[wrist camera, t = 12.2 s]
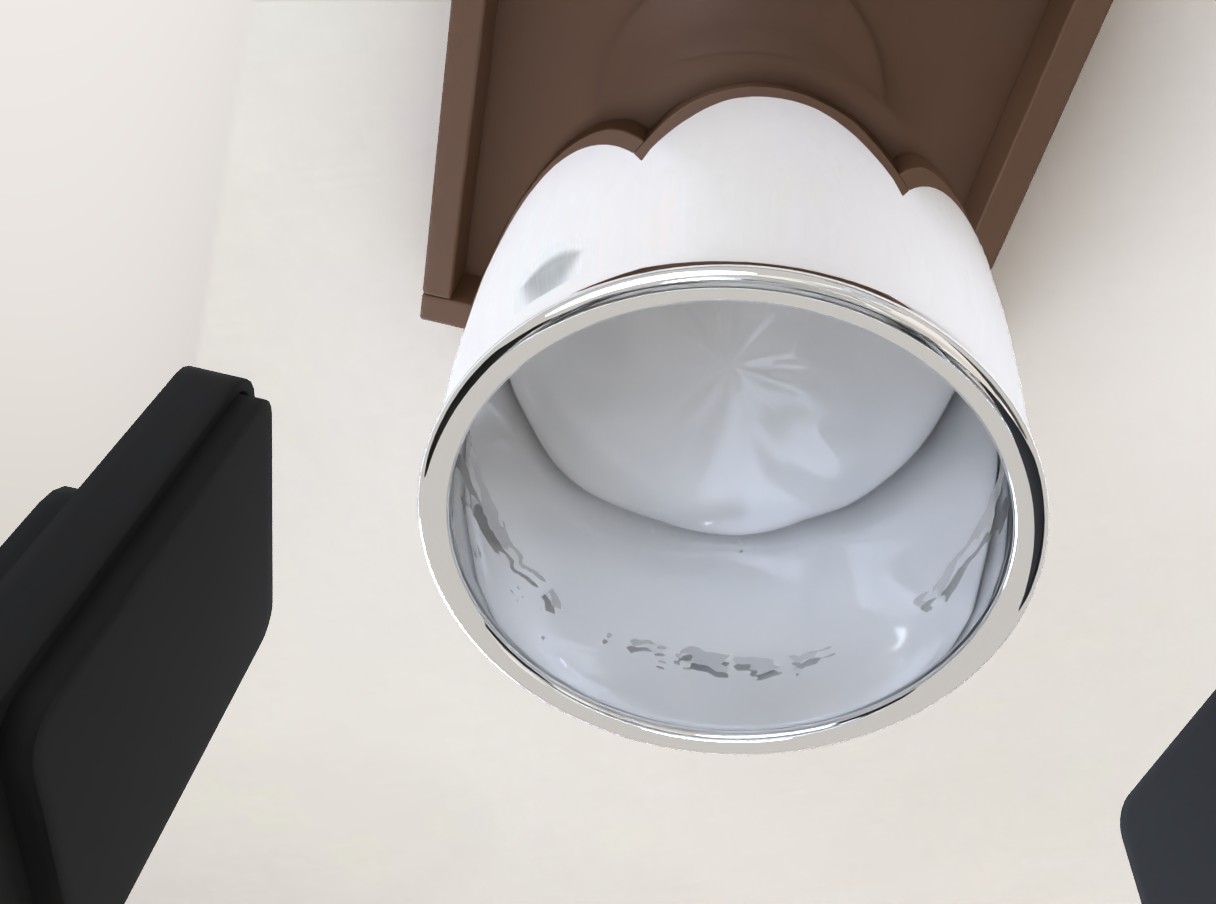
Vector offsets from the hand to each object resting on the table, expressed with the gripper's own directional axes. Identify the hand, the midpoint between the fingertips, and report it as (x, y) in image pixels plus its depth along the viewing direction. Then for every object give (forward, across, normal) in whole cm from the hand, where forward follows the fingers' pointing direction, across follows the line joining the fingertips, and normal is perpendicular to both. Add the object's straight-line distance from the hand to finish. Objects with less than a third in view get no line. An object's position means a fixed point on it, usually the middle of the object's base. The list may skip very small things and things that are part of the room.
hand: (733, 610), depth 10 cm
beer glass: (+16, 0, 0) cm, 16 cm away
